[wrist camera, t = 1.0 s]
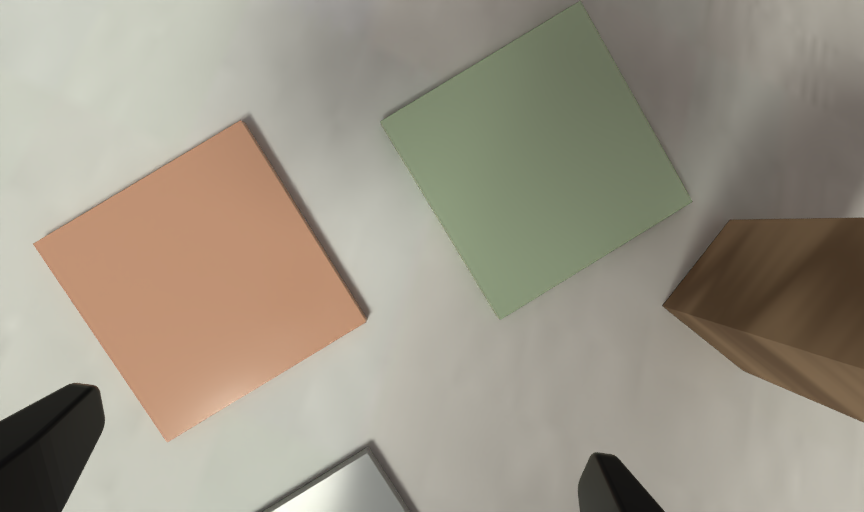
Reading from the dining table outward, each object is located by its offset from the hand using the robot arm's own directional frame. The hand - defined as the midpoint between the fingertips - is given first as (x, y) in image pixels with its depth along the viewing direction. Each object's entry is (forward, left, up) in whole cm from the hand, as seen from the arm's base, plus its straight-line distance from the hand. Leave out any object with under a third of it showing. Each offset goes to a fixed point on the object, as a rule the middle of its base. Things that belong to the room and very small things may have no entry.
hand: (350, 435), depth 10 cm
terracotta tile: (+5, +6, -14) cm, 16 cm away
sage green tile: (+2, -9, -14) cm, 17 cm away
